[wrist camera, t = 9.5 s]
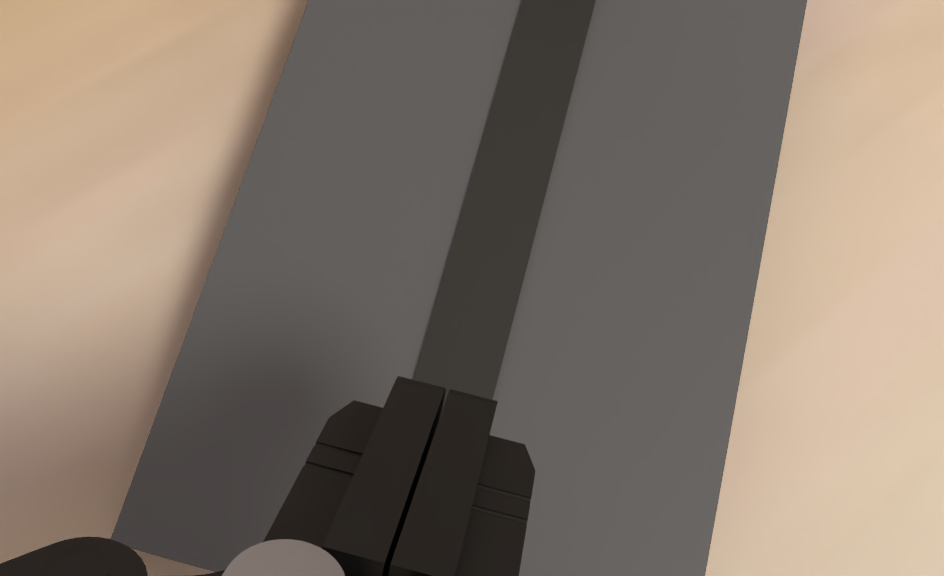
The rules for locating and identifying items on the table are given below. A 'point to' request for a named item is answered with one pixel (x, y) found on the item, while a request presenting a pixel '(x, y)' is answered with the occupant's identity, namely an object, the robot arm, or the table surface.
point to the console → (490, 265)
